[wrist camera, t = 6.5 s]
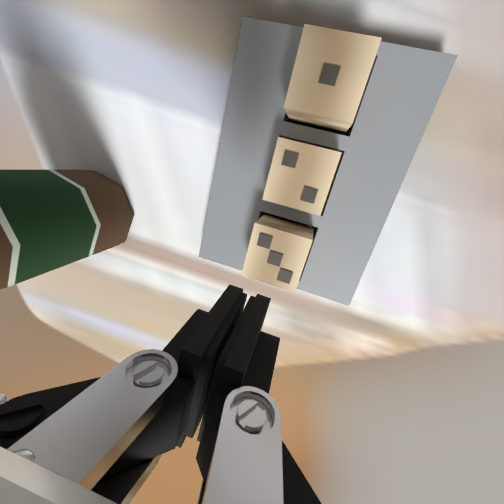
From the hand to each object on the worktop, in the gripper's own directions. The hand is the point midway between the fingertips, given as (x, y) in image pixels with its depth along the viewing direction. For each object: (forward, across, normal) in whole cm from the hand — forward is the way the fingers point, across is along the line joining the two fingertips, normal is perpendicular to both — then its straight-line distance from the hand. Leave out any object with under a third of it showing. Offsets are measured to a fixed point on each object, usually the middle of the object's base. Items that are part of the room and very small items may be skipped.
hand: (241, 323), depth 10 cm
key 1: (+12, 0, -11) cm, 16 cm away
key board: (+13, 0, -6) cm, 14 cm away
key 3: (+12, 0, 0) cm, 12 cm away
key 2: (+13, 0, -6) cm, 14 cm away
